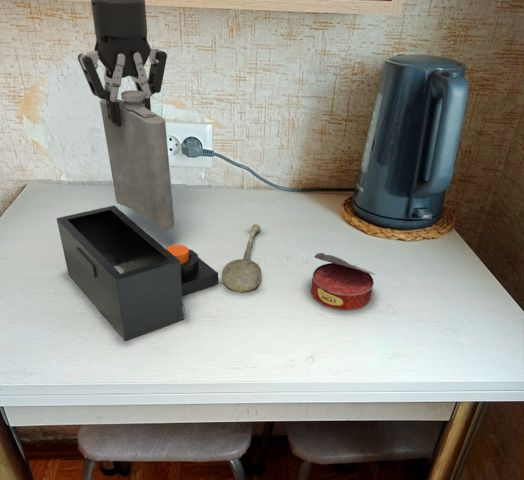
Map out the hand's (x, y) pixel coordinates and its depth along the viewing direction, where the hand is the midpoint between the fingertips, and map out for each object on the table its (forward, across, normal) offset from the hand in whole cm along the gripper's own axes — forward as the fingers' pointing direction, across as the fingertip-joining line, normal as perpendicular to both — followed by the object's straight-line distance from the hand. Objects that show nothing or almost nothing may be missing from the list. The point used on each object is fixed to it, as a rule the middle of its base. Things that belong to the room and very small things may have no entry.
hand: (130, 123), depth 83 cm
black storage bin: (+20, +12, +17) cm, 29 cm away
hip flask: (+15, -1, +1) cm, 15 cm away
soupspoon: (+20, -12, +18) cm, 29 cm away
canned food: (+20, -18, +35) cm, 44 cm away
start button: (+16, +2, +17) cm, 24 cm away
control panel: (+20, +2, +17) cm, 26 cm away
